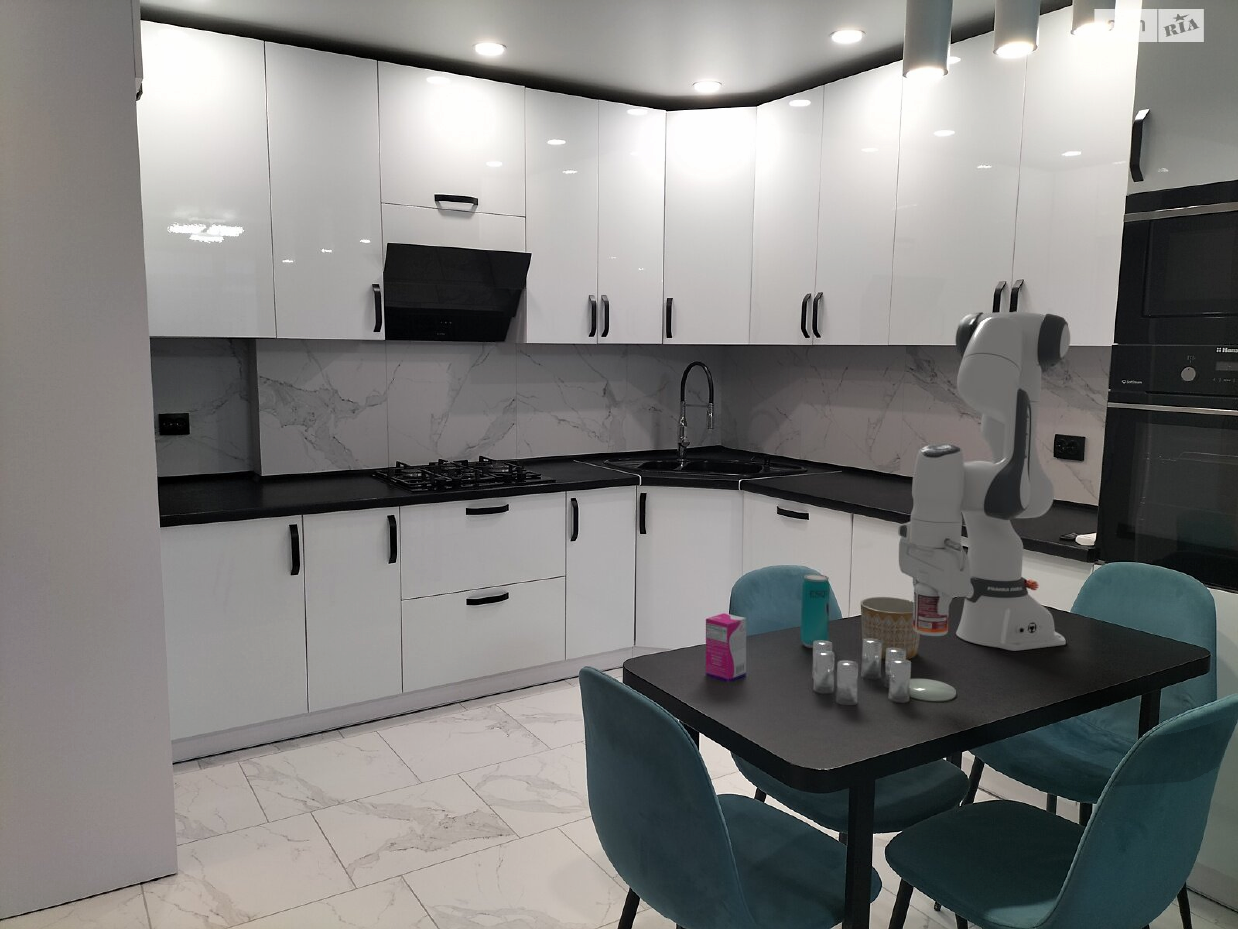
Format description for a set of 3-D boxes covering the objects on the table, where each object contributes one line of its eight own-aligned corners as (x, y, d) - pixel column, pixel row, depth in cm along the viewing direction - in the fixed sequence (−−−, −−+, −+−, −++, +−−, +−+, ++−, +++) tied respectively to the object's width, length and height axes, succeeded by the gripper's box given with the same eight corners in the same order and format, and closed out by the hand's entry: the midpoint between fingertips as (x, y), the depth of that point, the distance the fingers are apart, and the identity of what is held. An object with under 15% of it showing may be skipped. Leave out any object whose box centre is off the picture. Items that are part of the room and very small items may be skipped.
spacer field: (885, 672, 178) (886, 637, 177) (923, 701, 162) (925, 664, 162) (799, 676, 175) (800, 641, 174) (830, 706, 160) (831, 668, 159)
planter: (932, 653, 190) (934, 605, 188) (902, 667, 181) (904, 616, 180) (878, 640, 199) (880, 593, 197) (847, 652, 190) (848, 604, 189)
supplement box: (722, 668, 179) (724, 612, 178) (746, 675, 175) (748, 618, 174) (704, 675, 175) (705, 617, 174) (728, 683, 171) (729, 624, 170)
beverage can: (830, 649, 192) (832, 580, 190) (803, 649, 192) (805, 580, 190) (824, 641, 197) (827, 574, 196) (798, 640, 197) (800, 573, 196)
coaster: (938, 680, 173) (939, 677, 173) (966, 699, 164) (966, 696, 163) (889, 683, 172) (889, 679, 172) (914, 702, 162) (914, 699, 162)
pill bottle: (954, 635, 164) (957, 574, 163) (924, 638, 163) (926, 576, 161) (935, 626, 170) (938, 567, 169) (906, 628, 169) (908, 568, 167)
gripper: (982, 545, 155) (977, 624, 156) (924, 524, 175) (921, 594, 176) (948, 546, 154) (943, 625, 155) (894, 524, 174) (890, 595, 175)
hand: (931, 608), depth 166 cm, fingers closed on pill bottle, 6 cm apart
